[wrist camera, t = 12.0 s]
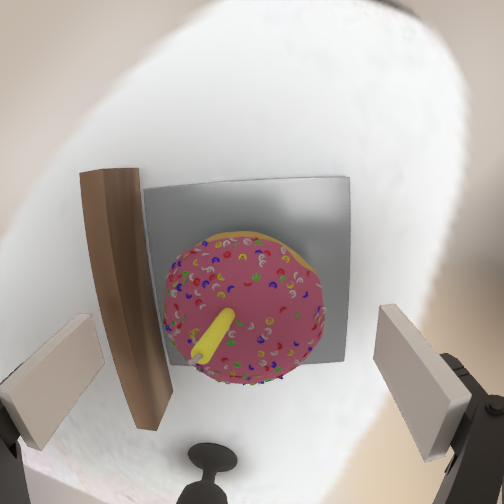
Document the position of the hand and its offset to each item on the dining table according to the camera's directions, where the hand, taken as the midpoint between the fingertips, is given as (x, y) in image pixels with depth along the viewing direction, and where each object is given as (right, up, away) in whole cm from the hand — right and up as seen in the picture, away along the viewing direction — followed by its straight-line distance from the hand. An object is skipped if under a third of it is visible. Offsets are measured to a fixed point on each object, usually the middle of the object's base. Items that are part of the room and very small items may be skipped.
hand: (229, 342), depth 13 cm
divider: (-7, +1, +9) cm, 12 cm away
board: (+1, +2, +8) cm, 9 cm away
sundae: (-3, -16, +14) cm, 21 cm away
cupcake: (+1, +2, +8) cm, 8 cm away
